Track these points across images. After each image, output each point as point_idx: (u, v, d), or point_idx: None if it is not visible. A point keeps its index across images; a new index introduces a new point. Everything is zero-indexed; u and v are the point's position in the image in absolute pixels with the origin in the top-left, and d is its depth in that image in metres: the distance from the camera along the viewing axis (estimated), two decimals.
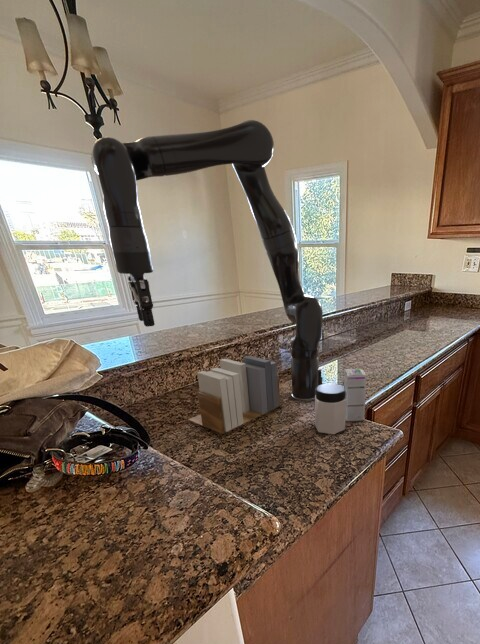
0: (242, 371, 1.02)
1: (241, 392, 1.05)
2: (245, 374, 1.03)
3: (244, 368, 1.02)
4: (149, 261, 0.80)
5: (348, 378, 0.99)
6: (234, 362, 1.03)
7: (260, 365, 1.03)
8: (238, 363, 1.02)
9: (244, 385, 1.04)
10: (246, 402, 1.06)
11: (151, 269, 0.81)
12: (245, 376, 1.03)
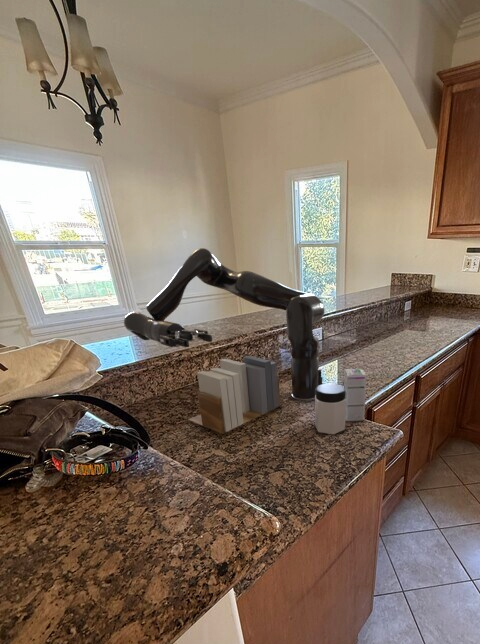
0: (242, 371, 1.02)
1: (241, 392, 1.05)
2: (245, 374, 1.03)
3: (244, 368, 1.02)
4: (164, 326, 1.12)
5: (348, 378, 0.99)
6: (234, 362, 1.03)
7: (260, 365, 1.03)
8: (238, 363, 1.02)
9: (244, 385, 1.04)
10: (246, 402, 1.06)
11: (168, 326, 1.12)
12: (245, 376, 1.03)
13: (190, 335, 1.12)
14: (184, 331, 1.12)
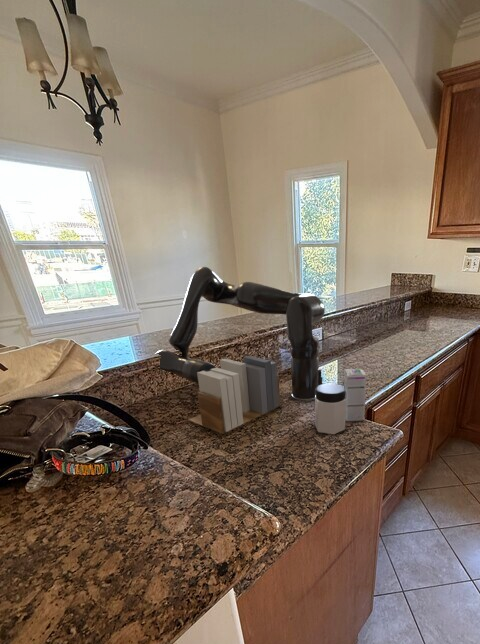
0: (242, 371, 1.02)
1: (241, 392, 1.05)
2: (245, 374, 1.03)
3: (244, 368, 1.02)
4: (196, 365, 1.11)
5: (348, 378, 0.99)
6: (235, 362, 1.03)
7: (260, 365, 1.03)
8: (238, 363, 1.02)
9: (244, 385, 1.04)
10: (246, 402, 1.06)
11: (200, 366, 1.10)
12: (246, 376, 1.04)
13: None
14: None
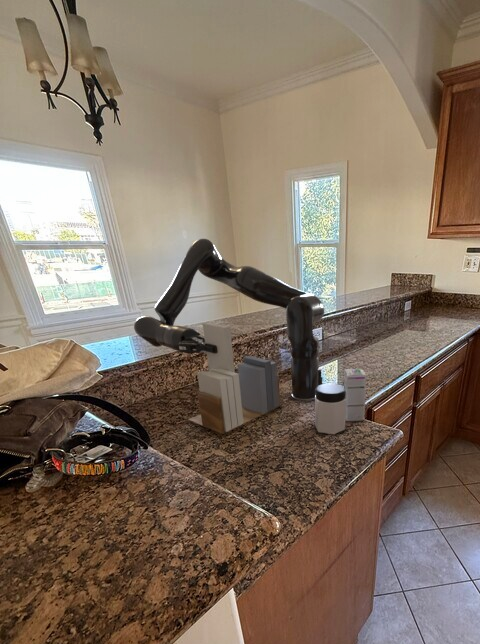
0: (226, 334, 0.94)
1: (225, 358, 0.97)
2: (230, 338, 0.95)
3: (228, 331, 0.94)
4: (178, 331, 1.03)
5: (348, 378, 0.99)
6: (218, 325, 0.95)
7: (260, 365, 1.03)
8: (222, 326, 0.94)
9: (229, 350, 0.96)
10: (231, 370, 0.98)
11: (182, 331, 1.02)
12: (230, 341, 0.95)
13: None
14: (200, 337, 1.03)
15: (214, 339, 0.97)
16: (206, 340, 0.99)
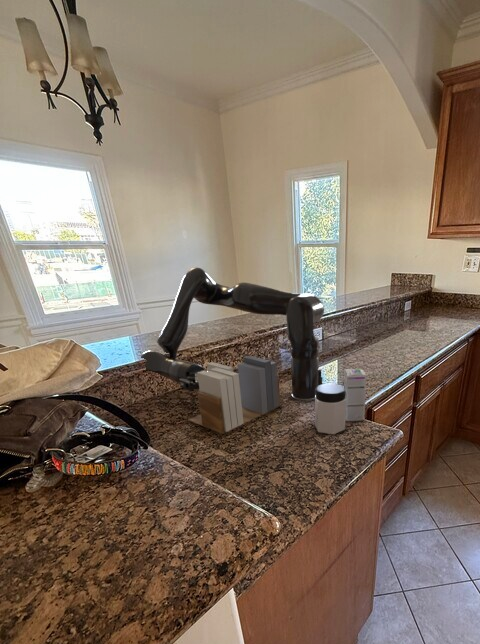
0: None
1: None
2: None
3: None
4: (183, 367, 1.07)
5: (348, 378, 0.99)
6: (222, 365, 1.00)
7: (260, 365, 1.03)
8: (225, 367, 0.99)
9: None
10: None
11: (187, 367, 1.06)
12: None
13: None
14: None
15: None
16: None
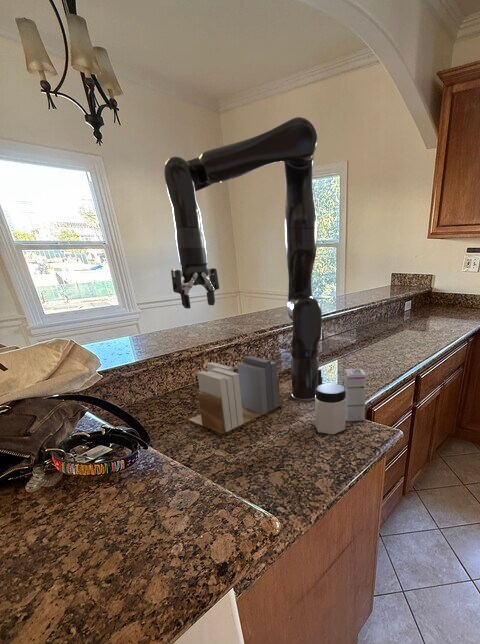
0: None
1: None
2: None
3: None
4: (192, 255, 0.96)
5: (348, 378, 0.99)
6: (222, 365, 1.00)
7: (260, 365, 1.03)
8: (225, 367, 0.99)
9: None
10: None
11: (194, 262, 0.97)
12: None
13: (201, 284, 1.03)
14: (201, 276, 1.01)
15: None
16: None
